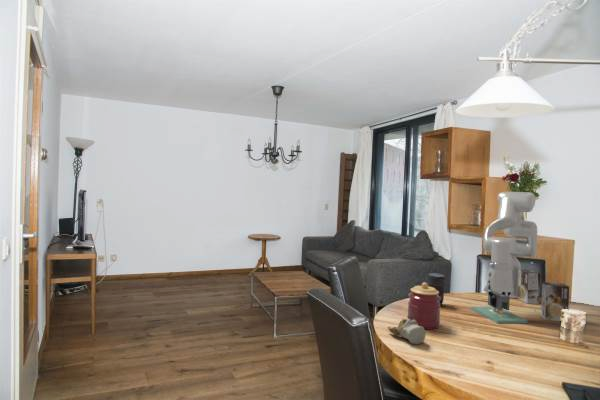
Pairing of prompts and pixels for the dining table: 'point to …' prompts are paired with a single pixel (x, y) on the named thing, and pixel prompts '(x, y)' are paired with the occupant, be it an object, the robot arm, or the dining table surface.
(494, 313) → the header board
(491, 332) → the dining table surface
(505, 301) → the block
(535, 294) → the coffee box
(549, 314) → the coffee box
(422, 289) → the canister
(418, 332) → the ceramic sculpture
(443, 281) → the camera lens
